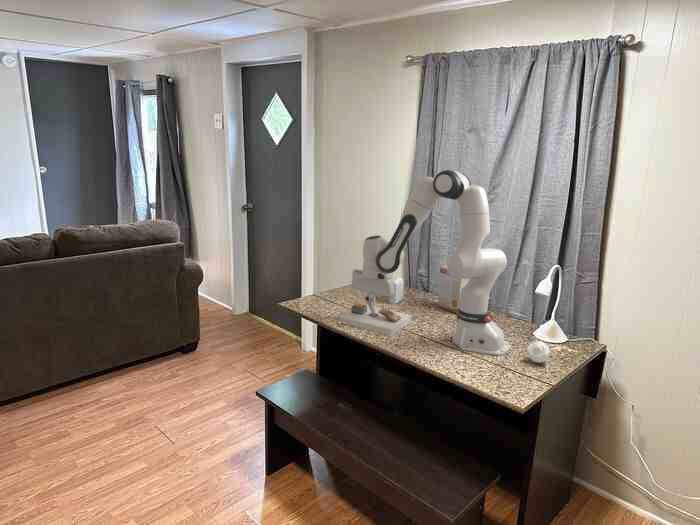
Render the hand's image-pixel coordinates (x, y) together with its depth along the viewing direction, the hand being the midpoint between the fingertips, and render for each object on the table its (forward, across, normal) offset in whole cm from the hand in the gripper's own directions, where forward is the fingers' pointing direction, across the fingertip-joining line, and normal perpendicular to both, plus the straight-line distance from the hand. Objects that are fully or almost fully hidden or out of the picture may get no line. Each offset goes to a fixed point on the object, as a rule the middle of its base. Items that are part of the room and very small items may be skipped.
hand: (372, 301), depth 216 cm
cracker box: (+10, +25, +36) cm, 45 cm away
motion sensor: (+11, +72, 0) cm, 73 cm away
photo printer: (+10, -3, +31) cm, 32 cm away
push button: (+4, -7, 0) cm, 8 cm away
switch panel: (+9, +2, 0) cm, 10 cm away
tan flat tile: (+5, +9, 0) cm, 10 cm away
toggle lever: (+5, +1, 0) cm, 5 cm away
